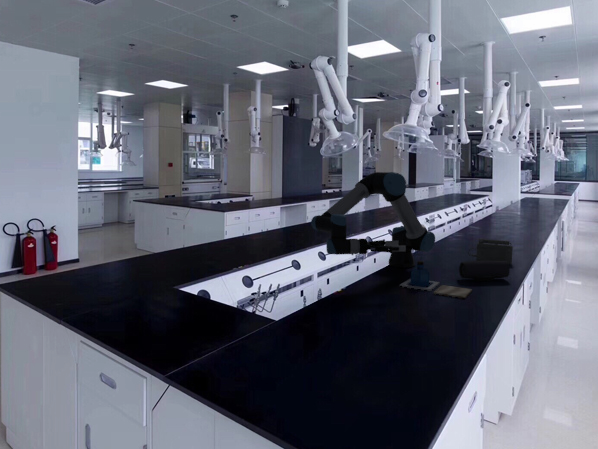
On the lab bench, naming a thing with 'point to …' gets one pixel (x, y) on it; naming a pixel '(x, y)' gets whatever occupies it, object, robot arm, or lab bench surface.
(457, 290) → the beige square cloth
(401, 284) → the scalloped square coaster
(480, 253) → the geiger counter
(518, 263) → the lab bench surface
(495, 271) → the bluetooth speaker
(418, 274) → the perfume bottle
